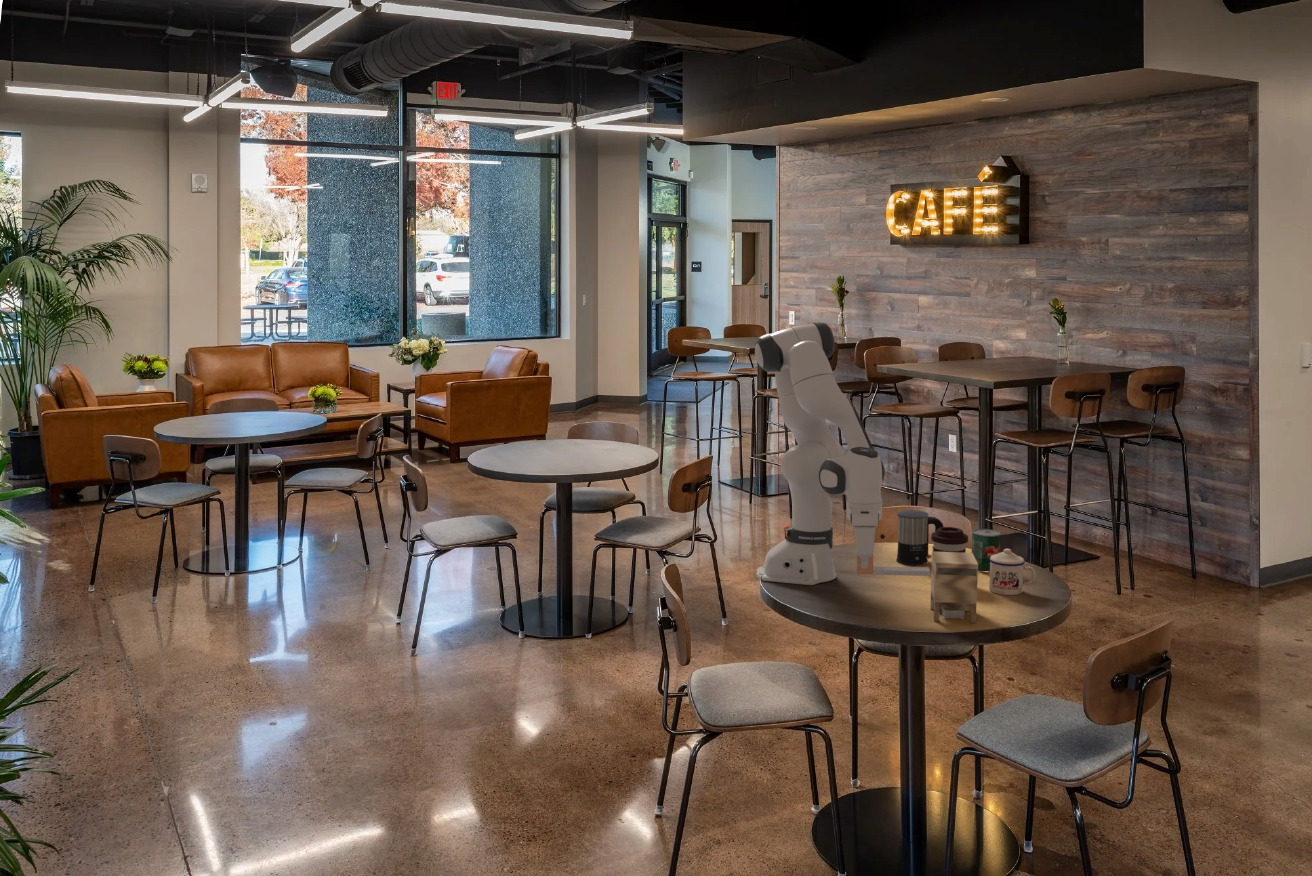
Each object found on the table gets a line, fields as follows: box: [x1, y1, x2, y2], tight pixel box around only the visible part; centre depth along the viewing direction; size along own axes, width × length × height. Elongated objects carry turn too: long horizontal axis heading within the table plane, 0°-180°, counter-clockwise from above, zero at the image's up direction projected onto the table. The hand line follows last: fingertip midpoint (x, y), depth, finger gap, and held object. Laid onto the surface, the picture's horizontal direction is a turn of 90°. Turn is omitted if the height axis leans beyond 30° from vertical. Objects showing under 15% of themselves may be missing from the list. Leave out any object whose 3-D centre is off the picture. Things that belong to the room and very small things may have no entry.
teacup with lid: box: [988, 548, 1037, 596], centre depth 298 cm, size 12×9×12 cm
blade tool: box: [856, 553, 931, 577], centre depth 278 cm, size 18×4×5 cm, turn 81°
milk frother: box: [896, 509, 945, 566], centre depth 331 cm, size 14×16×15 cm
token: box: [940, 604, 966, 620], centre depth 278 cm, size 5×5×2 cm
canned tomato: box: [971, 528, 1002, 572], centre depth 320 cm, size 8×8×11 cm
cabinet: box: [929, 550, 979, 624], centre depth 277 cm, size 10×11×15 cm
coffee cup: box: [930, 526, 969, 553], centre depth 307 cm, size 10×10×15 cm
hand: (864, 565), depth 279 cm, fingers closed on blade tool, 3 cm apart
